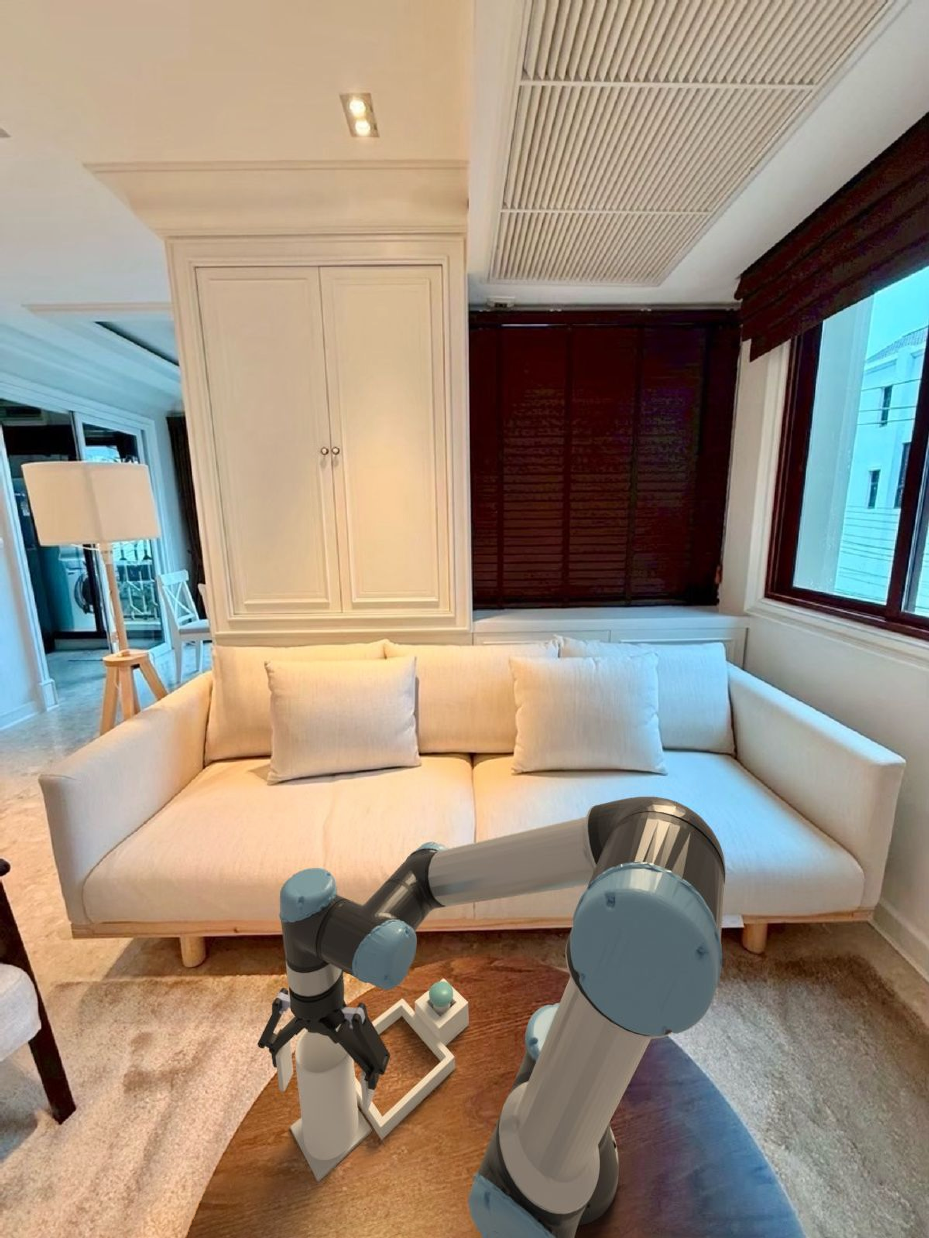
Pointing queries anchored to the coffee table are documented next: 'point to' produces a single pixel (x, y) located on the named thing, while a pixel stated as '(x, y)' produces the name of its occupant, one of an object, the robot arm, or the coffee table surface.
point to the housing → (436, 1037)
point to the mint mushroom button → (441, 997)
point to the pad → (325, 1166)
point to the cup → (326, 1095)
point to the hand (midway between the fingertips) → (327, 1091)
